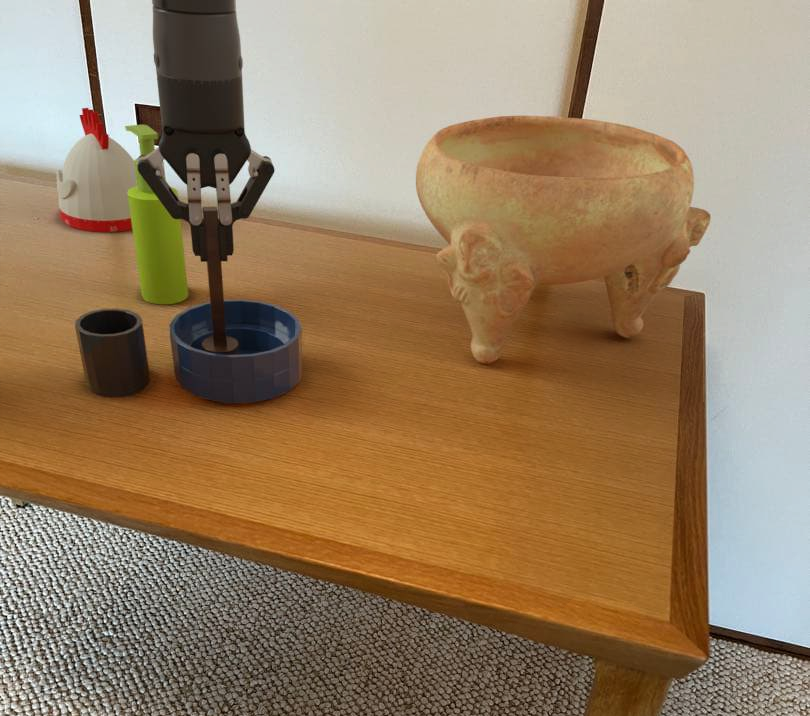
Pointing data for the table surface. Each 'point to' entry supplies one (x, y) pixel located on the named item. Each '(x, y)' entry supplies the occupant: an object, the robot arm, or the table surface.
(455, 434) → the table surface
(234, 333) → the mixing bowl
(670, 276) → the decorative bowl
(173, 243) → the soap dispenser
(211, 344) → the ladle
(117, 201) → the kitchen timer
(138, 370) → the crock
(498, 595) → the table surface
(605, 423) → the table surface
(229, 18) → the robot arm
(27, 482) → the table surface
